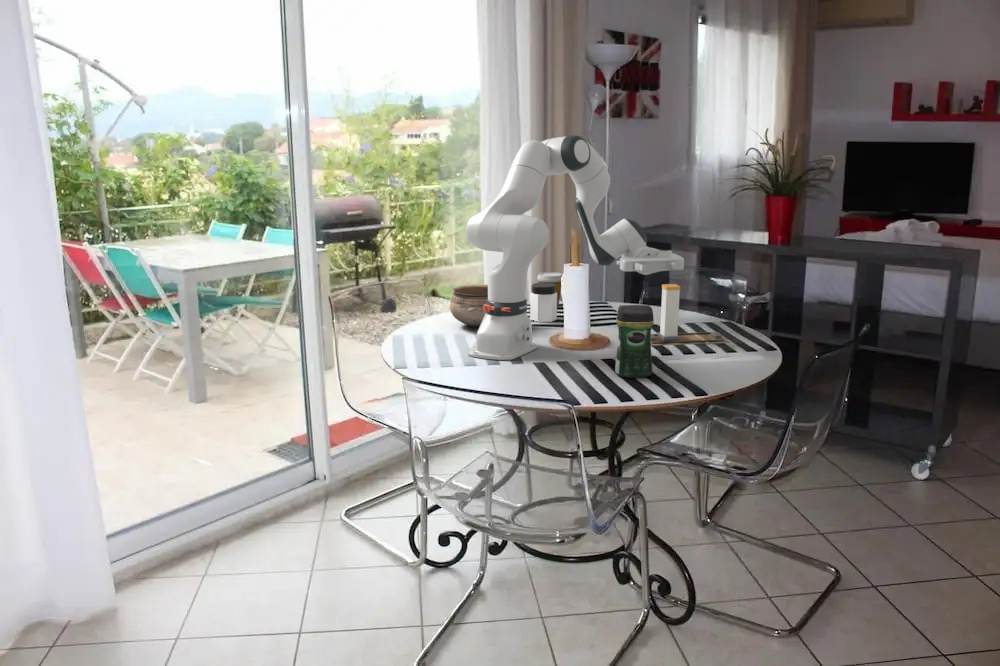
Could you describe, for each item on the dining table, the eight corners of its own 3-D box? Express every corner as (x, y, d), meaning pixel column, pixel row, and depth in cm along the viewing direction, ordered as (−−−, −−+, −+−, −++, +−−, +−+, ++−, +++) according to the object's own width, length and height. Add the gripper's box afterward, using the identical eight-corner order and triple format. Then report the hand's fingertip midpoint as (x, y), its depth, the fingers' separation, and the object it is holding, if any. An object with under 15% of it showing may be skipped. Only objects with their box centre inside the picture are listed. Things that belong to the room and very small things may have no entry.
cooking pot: (505, 336, 250) (505, 297, 247) (445, 335, 252) (444, 297, 249) (509, 317, 275) (509, 282, 272) (454, 317, 276) (454, 282, 273)
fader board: (645, 349, 235) (646, 342, 234) (633, 338, 247) (633, 331, 247) (730, 346, 238) (731, 339, 237) (714, 335, 250) (714, 328, 250)
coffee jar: (649, 370, 215) (652, 302, 211) (653, 379, 208) (657, 308, 203) (613, 369, 216) (615, 302, 211) (616, 378, 208) (618, 308, 203)
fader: (663, 340, 239) (666, 287, 235) (657, 335, 244) (659, 283, 240) (679, 340, 239) (682, 287, 235) (673, 335, 245) (675, 283, 241)
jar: (537, 315, 278) (538, 281, 275) (559, 318, 274) (560, 283, 271) (526, 321, 270) (526, 286, 267) (548, 323, 266) (549, 288, 263)
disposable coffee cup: (550, 303, 298) (550, 271, 295) (568, 307, 291) (569, 274, 288) (531, 306, 292) (531, 273, 289) (549, 310, 285) (549, 277, 282)
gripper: (614, 251, 260) (626, 258, 247) (675, 250, 262) (690, 256, 249) (614, 271, 262) (625, 279, 248) (674, 269, 264) (689, 276, 251)
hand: (658, 267), depth 249 cm, fingers open, 8 cm apart
